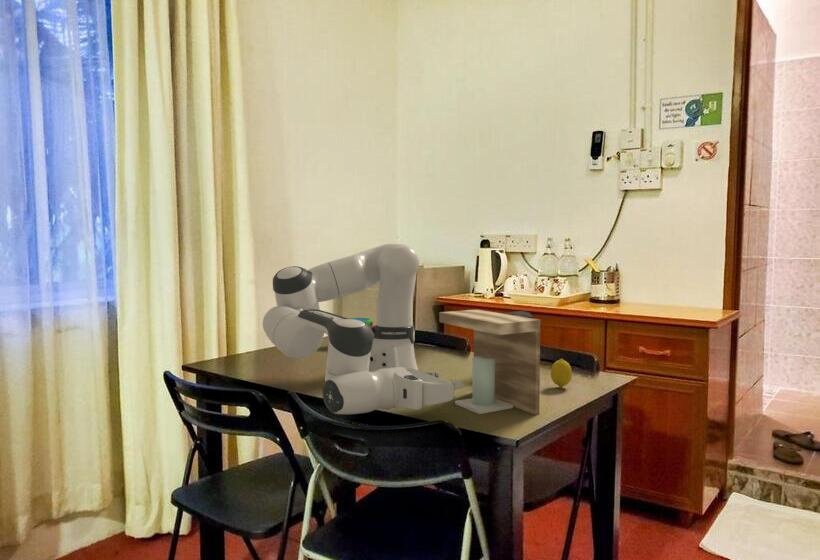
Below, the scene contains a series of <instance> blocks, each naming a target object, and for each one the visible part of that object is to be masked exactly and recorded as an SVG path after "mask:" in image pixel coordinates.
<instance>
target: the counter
mask: <svg viewBox="0 0 820 560" xmlns="http://www.w3.org/2000/svg"><path fill="white" fill-rule="evenodd" d="M438 315H439V317H438V319H439V321H438V322H439V323H442V324H446V325H452V326H456V327H460V328H464V329H469V330H472V331H473V357H475V356H491V357H495V358H496V359H495V404H494V405H491V406H479V405H475V404H473V403H472V397H470V398H465V399H459V400H455V401H454V405H456V406H459V407H461V408H463V409H466V410H468V411H471V412H474V413H475V414H477V415H482V414H489V413H493V412H499V411H505V410H509V409H514V408H516V409H518V410H521V411H524V412H527V413H530V414H532V415H535V416H536V415H540V395H541V394H540V391H541V390H540V388H541V387H540V386H541V384H540V383H541V380H540V379H541V376H540V375H541V319H538V318H533V317H532V318H526V317H520V316H514V315H508V314H504V313H503V312H496V311H490V310H483V309H477V308H476V309H466V310H453V311H452V310H451V311H439V312H438Z"/></svg>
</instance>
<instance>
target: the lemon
mask: <svg viewBox="0 0 820 560" xmlns="http://www.w3.org/2000/svg"><path fill="white" fill-rule="evenodd" d="M572 373H573V372H572V367H571V365H570V363H569V362H567V361H566V360H564V359H563V358H559V360H556V361H555V362H554V363H552V366H551V370H550V378H551V381H552V382H553V383H554V384H555V385H556V386H558V388H561V389H562V388H564V387H565V386H568V384H569V383H570V382H571V380H572V377H573V376H572V375H573V374H572Z"/></svg>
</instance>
